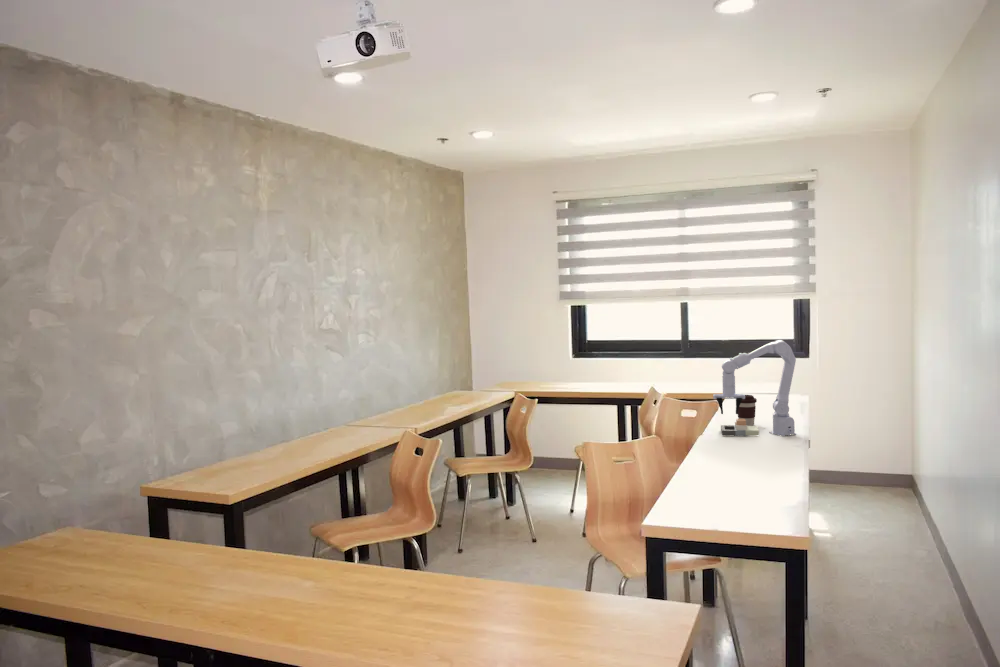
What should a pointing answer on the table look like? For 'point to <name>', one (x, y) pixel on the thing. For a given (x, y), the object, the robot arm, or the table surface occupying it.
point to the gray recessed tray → (732, 430)
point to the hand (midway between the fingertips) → (729, 413)
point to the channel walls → (740, 427)
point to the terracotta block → (740, 422)
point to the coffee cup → (747, 409)
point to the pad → (752, 430)
